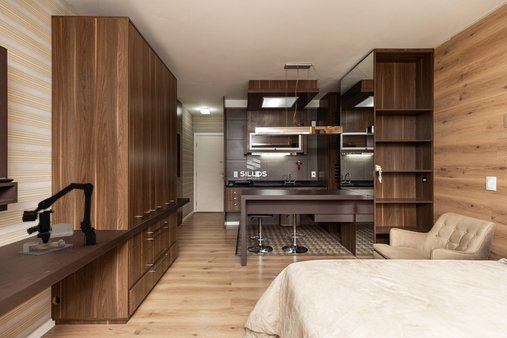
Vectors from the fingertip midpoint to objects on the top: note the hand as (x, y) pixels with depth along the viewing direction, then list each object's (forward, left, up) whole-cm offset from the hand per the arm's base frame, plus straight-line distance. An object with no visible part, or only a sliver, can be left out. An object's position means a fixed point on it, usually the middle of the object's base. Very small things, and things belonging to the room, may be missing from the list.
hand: (45, 246), depth 165 cm
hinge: (+24, -27, -2) cm, 36 cm away
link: (-4, 0, -1) cm, 4 cm away
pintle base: (-1, 0, -2) cm, 2 cm away
